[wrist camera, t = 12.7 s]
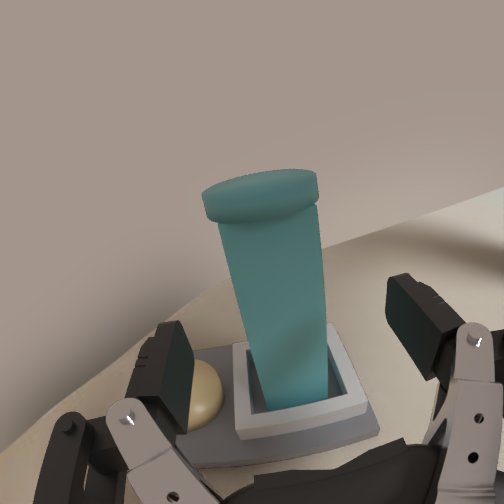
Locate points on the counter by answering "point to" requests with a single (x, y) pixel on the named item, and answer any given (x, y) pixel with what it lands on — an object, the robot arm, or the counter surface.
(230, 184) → the lidded tumbler
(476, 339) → the robot arm
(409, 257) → the counter surface
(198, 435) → the housing
